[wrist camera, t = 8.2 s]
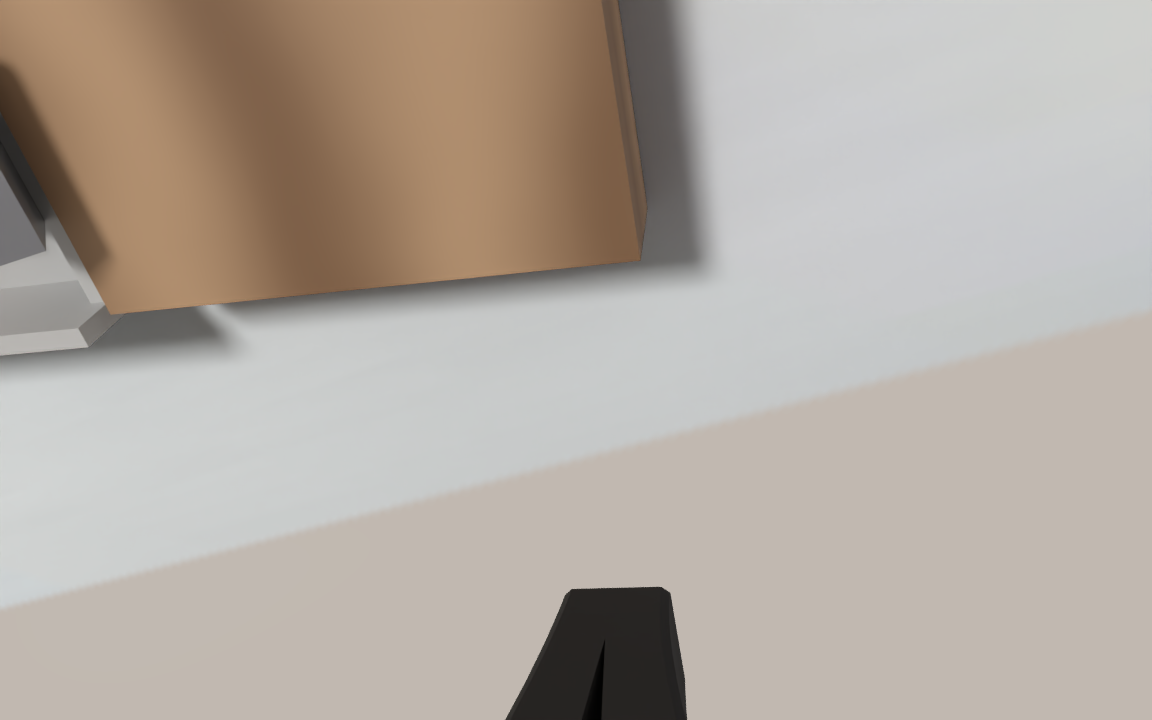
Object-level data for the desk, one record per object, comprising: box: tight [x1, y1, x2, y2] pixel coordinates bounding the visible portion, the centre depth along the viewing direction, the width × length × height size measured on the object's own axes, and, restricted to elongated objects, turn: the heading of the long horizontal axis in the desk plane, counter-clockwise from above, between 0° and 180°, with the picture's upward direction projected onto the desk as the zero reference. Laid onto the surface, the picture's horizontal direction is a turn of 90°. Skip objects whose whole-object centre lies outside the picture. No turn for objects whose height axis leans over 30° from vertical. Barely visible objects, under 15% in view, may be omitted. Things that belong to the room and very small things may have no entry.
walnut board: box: [0, 0, 647, 315], centre depth 17 cm, size 12×8×2 cm, turn 101°
